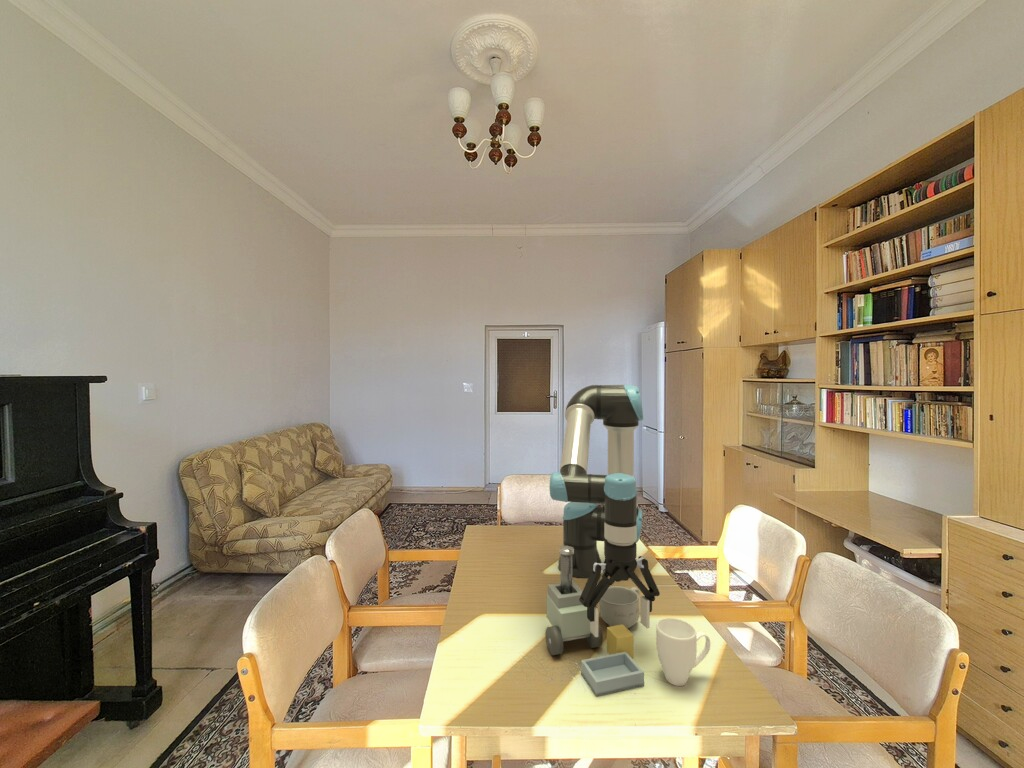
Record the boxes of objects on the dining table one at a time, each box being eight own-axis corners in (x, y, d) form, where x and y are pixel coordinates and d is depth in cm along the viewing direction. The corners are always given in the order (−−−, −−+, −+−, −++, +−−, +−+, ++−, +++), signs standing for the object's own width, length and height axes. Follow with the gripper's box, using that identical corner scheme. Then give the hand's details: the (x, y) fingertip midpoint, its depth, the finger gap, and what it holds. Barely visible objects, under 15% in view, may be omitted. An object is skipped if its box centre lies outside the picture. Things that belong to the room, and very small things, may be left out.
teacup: (616, 638, 111) (616, 607, 110) (590, 618, 120) (590, 589, 120) (656, 624, 117) (656, 595, 117) (628, 606, 127) (628, 579, 127)
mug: (667, 694, 91) (667, 640, 91) (649, 668, 99) (649, 618, 99) (720, 689, 92) (720, 636, 92) (698, 664, 101) (699, 615, 101)
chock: (622, 648, 107) (622, 624, 107) (633, 660, 102) (633, 635, 102) (606, 651, 105) (606, 627, 105) (616, 664, 101) (616, 638, 101)
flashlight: (570, 594, 113) (570, 545, 113) (576, 601, 110) (576, 550, 109) (556, 596, 112) (556, 546, 112) (562, 603, 108) (562, 552, 108)
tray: (625, 664, 101) (625, 651, 101) (644, 685, 93) (644, 672, 93) (581, 673, 97) (581, 660, 97) (596, 696, 90) (596, 682, 90)
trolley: (582, 626, 116) (582, 579, 116) (602, 651, 105) (603, 600, 105) (538, 633, 113) (538, 585, 113) (554, 661, 102) (554, 608, 102)
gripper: (656, 530, 111) (655, 614, 110) (565, 539, 104) (565, 628, 103) (674, 540, 103) (674, 630, 103) (579, 551, 96) (578, 646, 96)
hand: (620, 629), depth 103 cm, fingers open, 13 cm apart
